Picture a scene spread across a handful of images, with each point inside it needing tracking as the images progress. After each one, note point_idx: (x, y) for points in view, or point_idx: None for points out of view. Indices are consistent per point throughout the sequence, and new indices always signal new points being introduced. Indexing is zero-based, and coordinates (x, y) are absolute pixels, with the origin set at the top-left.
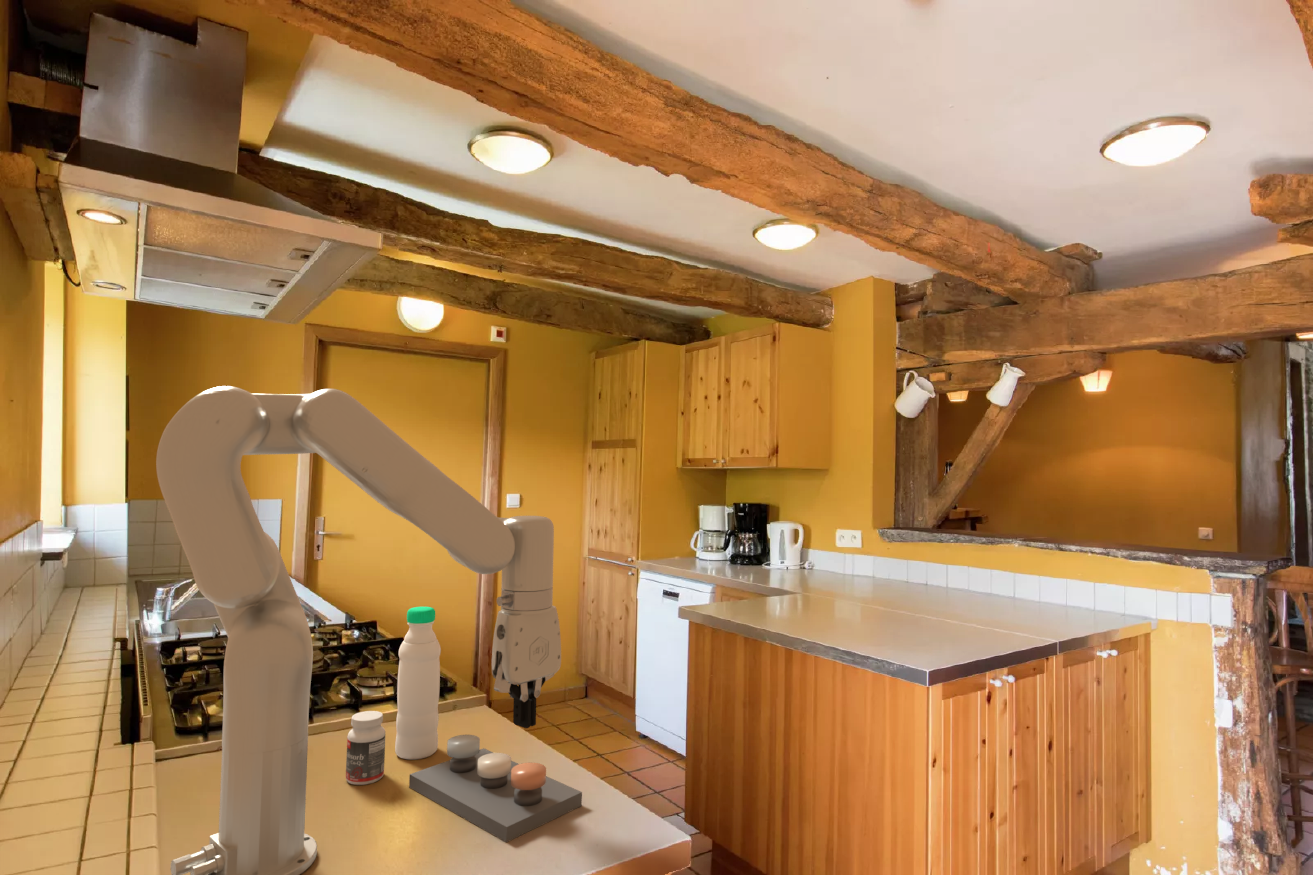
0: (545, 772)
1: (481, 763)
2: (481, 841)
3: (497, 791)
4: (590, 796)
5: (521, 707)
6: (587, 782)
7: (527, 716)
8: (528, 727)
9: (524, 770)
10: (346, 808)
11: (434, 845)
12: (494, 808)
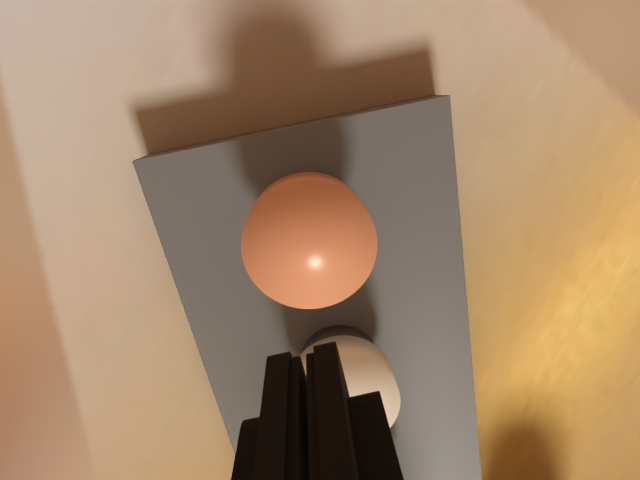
0: (259, 200)
1: (395, 400)
2: (481, 142)
3: (355, 309)
4: (96, 191)
5: (393, 470)
6: (67, 271)
7: (342, 391)
8: (325, 343)
9: (327, 250)
10: (615, 448)
11: (576, 196)
12: (416, 222)
